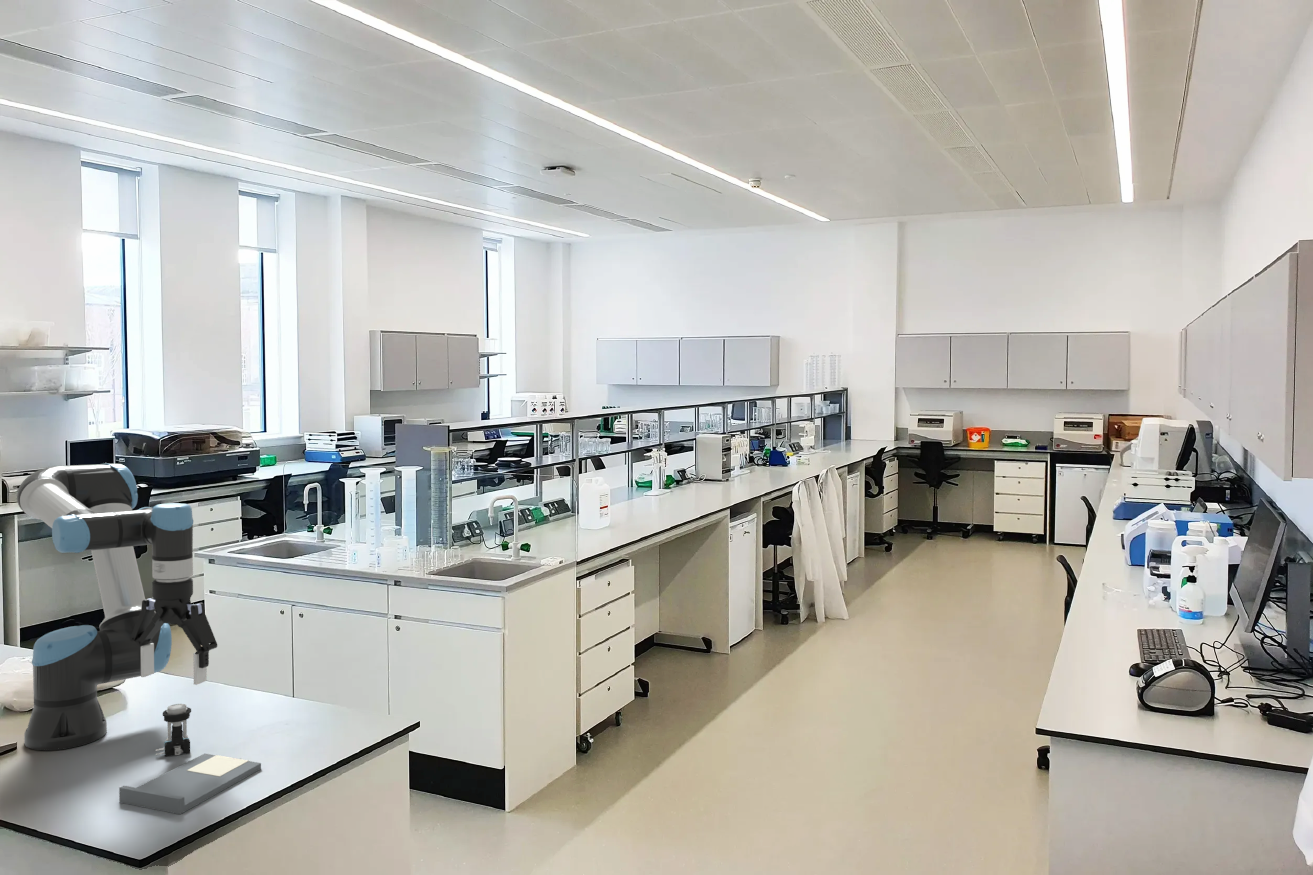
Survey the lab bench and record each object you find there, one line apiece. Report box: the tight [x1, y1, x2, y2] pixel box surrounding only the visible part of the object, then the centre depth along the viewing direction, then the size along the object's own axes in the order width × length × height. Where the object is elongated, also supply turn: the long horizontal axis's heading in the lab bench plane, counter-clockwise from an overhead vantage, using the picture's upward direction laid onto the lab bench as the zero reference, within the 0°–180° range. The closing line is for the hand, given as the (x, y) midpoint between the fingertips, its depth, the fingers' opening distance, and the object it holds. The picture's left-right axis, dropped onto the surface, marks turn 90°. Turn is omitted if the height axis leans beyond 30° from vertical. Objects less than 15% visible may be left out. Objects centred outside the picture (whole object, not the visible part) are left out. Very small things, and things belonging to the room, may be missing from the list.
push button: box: [155, 703, 192, 757], centre depth 194 cm, size 7×5×10 cm
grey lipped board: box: [118, 753, 262, 815], centre depth 180 cm, size 14×21×3 cm, turn 163°
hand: (173, 678), depth 194 cm, fingers open, 13 cm apart
